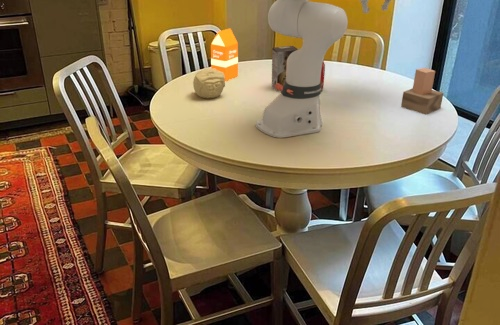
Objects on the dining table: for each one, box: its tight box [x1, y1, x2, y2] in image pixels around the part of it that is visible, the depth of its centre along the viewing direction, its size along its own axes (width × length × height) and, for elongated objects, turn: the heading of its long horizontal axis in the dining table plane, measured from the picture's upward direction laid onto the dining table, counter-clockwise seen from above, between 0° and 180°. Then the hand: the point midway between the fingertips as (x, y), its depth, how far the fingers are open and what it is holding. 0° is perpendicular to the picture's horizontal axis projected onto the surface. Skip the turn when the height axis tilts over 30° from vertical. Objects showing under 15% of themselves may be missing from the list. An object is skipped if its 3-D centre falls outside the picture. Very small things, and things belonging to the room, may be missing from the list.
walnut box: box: [400, 87, 444, 115], centre depth 174 cm, size 10×10×6 cm
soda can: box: [320, 59, 326, 91], centre depth 189 cm, size 7×7×12 cm
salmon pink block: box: [412, 67, 436, 95], centre depth 171 cm, size 5×5×8 cm
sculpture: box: [192, 68, 226, 99], centre depth 182 cm, size 11×12×11 cm
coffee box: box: [271, 45, 299, 93], centre depth 190 cm, size 9×6×16 cm
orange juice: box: [210, 28, 239, 82], centre depth 201 cm, size 8×9×20 cm
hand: (375, 11), depth 174 cm, fingers open, 8 cm apart
